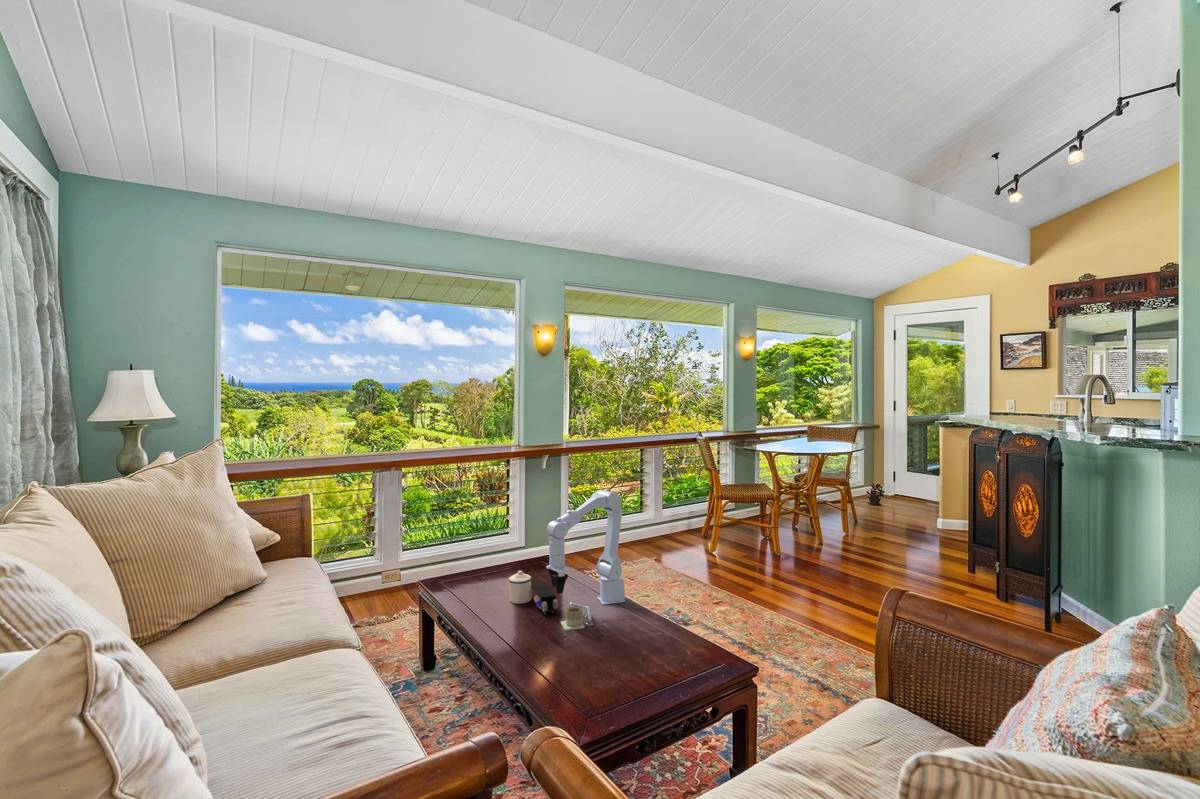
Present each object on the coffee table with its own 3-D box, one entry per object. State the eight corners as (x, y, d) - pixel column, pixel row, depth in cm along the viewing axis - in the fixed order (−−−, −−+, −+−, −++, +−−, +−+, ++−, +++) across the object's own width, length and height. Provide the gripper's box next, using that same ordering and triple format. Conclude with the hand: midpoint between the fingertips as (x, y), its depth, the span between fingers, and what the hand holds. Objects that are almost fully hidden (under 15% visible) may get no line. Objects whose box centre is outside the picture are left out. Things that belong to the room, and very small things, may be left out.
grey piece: (587, 609, 212) (586, 599, 212) (598, 624, 198) (598, 614, 198) (566, 611, 210) (566, 601, 210) (576, 628, 195) (576, 617, 195)
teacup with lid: (534, 601, 220) (534, 572, 220) (512, 605, 217) (512, 576, 216) (525, 592, 231) (525, 564, 231) (504, 595, 227) (504, 567, 227)
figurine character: (559, 618, 208) (546, 600, 221) (560, 599, 207) (546, 582, 220) (543, 621, 205) (530, 603, 218) (543, 602, 204) (530, 585, 218)
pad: (579, 620, 202) (579, 618, 202) (584, 628, 195) (584, 626, 195) (560, 623, 200) (560, 621, 200) (565, 630, 193) (565, 629, 193)
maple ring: (579, 619, 201) (579, 606, 201) (583, 625, 196) (583, 611, 196) (564, 621, 199) (564, 608, 199) (568, 627, 194) (568, 613, 194)
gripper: (542, 549, 212) (543, 584, 212) (550, 560, 198) (551, 597, 198) (560, 547, 214) (561, 582, 214) (569, 558, 200) (570, 595, 200)
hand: (557, 589), depth 206 cm, fingers open, 7 cm apart
